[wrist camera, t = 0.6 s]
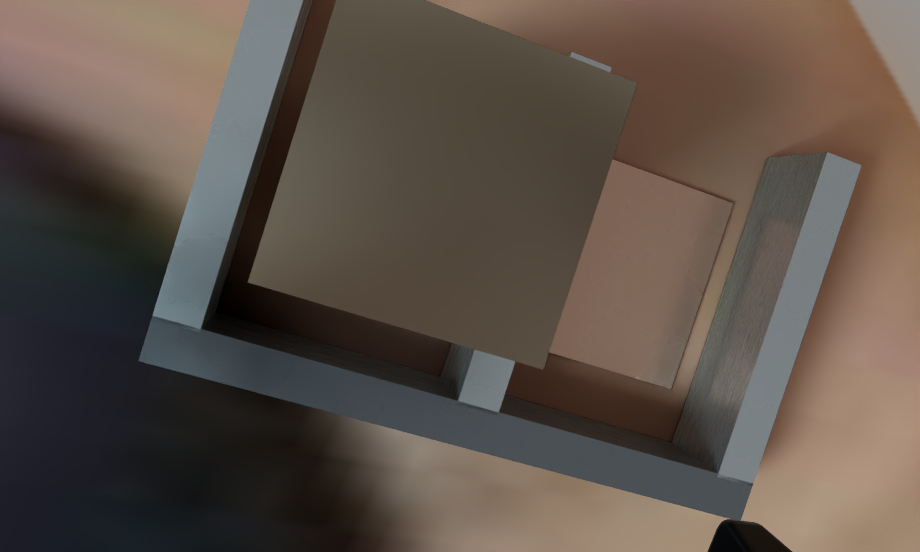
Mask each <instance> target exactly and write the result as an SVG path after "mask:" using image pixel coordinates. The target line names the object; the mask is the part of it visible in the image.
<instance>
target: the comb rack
mask: <svg viewBox="0 0 920 552" xmlns="http://www.w3.org/2000/svg"><path fill="white" fill-rule="evenodd" d="M312 2H313V0H250V2H249V5H248V9H247V12H246V15H245V18H244V21H243V25H242V28H241V31H240V34H239V38H238V41H237V44H236V47H235V51H234V54H233V57H232V60H231V64H230V67H229V70H228V73H227V76H226V80H225V83H224V86H223V89H222V93H221V96H220V99H219V102H218V106H217V109H216V112H215V115H214V119H213V122H212V125H211V128H210V131H209V135H208V138H207V141H206V144H205V148H204V151H203V154H202V157H201V161H200V164H199V167H198V170H197V174H196V177H195V180H194V183H193V186H192V190H191V193H190V196H189V199H188V203H187V206H186V209H185V212H184V216H183V219H182V222H181V225H180V228H179V232H178V235H177V238H176V241H175V245H174V248H173V251H172V254H171V258H170V261H169V264H168V267H167V271H166V274H165V277H164V280H163V283H162V287H161V290H160V293H159V296H158V300H157V303H156V306H155V309H154V313H153V316H152V319H151V322H150V326H149V329H148V332H147V335H146V338H145V342H144V345H143V348H142V351H141V355H140V358H139V361H141V362H144V363H148V364H152V365H156V366H160V367H163V368H167V369H171V370H175V371H178V372H182V373H186V374H190V375H193V376H197V377H201V378H205V379H208V380H212V381H216V382H220V383H223V384H227V385H231V386H235V387H238V388H242V389H246V390H250V391H253V392H257V393H261V394H265V395H268V396H272V397H276V398H280V399H283V400H287V401H291V402H295V403H298V404H302V405H306V406H310V407H313V408H317V409H321V410H325V411H328V412H332V413H336V414H340V415H343V416H347V417H351V418H355V419H358V420H362V421H366V422H370V423H373V424H377V425H381V426H385V427H388V428H392V429H396V430H400V431H403V432H407V433H411V434H415V435H418V436H422V437H426V438H430V439H433V440H437V441H441V442H445V443H448V444H452V445H456V446H460V447H463V448H467V449H471V450H475V451H478V452H482V453H486V454H490V455H493V456H497V457H501V458H505V459H508V460H512V461H516V462H520V463H523V464H527V465H531V466H535V467H538V468H542V469H546V470H550V471H553V472H557V473H561V474H565V475H568V476H572V477H576V478H580V479H583V480H587V481H591V482H595V483H598V484H602V485H606V486H610V487H613V488H617V489H621V490H625V491H628V492H632V493H636V494H640V495H643V496H647V497H651V498H655V499H658V500H662V501H666V502H670V503H673V504H677V505H681V506H685V507H688V508H692V509H696V510H700V511H703V512H707V513H711V514H715V515H718V516H722V517H726V518H730V519H733V520H740V521H741V518H742V515H743V512H744V509H745V506H746V503H747V500H748V497H749V494H750V491H751V488H752V485H753V482H754V480H755V477H756V474H757V471H758V468H759V465H760V462H761V459H762V456H763V453H764V450H765V447H766V444H767V441H768V439H769V436H770V433H771V430H772V427H773V424H774V421H775V418H776V415H777V412H778V409H779V406H780V403H781V400H782V398H783V395H784V392H785V389H786V386H787V383H788V380H789V377H790V374H791V371H792V368H793V365H794V362H795V359H796V357H797V354H798V351H799V348H800V345H801V342H802V339H803V336H804V333H805V330H806V327H807V324H808V321H809V318H810V316H811V313H812V310H813V307H814V304H815V301H816V298H817V295H818V292H819V289H820V286H821V283H822V280H823V277H824V274H825V272H826V269H827V266H828V263H829V260H830V257H831V254H832V251H833V248H834V245H835V242H836V239H837V236H838V233H839V231H840V228H841V225H842V222H843V219H844V216H845V213H846V210H847V207H848V204H849V201H850V198H851V195H852V192H853V190H854V187H855V184H856V181H857V178H858V175H859V172H860V169H861V166H862V165H859V164H857V163H854V162H852V161H849V160H847V159H844V158H842V157H839V156H836V155H834V154H831V153H829V152H822V153H812V154H801V155H790V156H780V157H769V158H768V159H767V162H766V165H765V168H764V171H763V174H762V177H761V180H760V183H759V185H758V188H757V191H756V194H755V197H754V200H753V203H752V206H751V209H750V212H749V215H748V218H747V221H746V224H745V227H744V230H743V233H742V236H741V239H740V242H739V245H738V248H737V251H736V254H735V257H734V260H733V263H732V266H731V269H730V272H729V275H728V278H727V281H726V284H725V286H724V289H723V292H722V295H721V298H720V301H719V304H718V307H717V310H716V313H715V316H714V319H713V322H712V325H711V328H710V331H709V334H708V337H707V340H706V343H705V346H704V349H703V352H702V355H701V358H700V361H699V364H698V367H697V370H696V373H695V376H694V379H693V382H692V384H691V387H690V390H689V393H688V396H687V399H686V402H685V405H684V408H683V411H682V414H681V417H680V420H679V423H678V426H677V429H676V432H675V435H674V438H673V441H672V442H669V441H666V440H662V439H659V438H655V437H652V436H648V435H645V434H641V433H638V432H634V431H631V430H627V429H624V428H620V427H616V426H613V425H609V424H606V423H602V422H599V421H595V420H592V419H588V418H585V417H581V416H578V415H574V414H571V413H567V412H564V411H560V410H557V409H553V408H550V407H546V406H543V405H539V404H536V403H532V402H529V401H525V400H522V399H518V398H515V397H511V396H508V395H505V392H506V389H507V386H508V383H509V380H510V376H511V373H512V370H513V367H514V364H515V361H512V360H508V359H505V358H502V357H498V356H495V355H492V354H488V353H485V352H481V351H478V350H475V349H471V348H468V347H465V346H461V345H458V344H454V343H451V346H450V349H449V352H448V355H447V358H446V361H445V364H444V367H443V370H442V373H441V376H438V375H434V374H431V373H427V372H424V371H420V370H417V369H413V368H410V367H406V366H403V365H399V364H396V363H392V362H389V361H385V360H382V359H378V358H375V357H371V356H367V355H364V354H360V353H357V352H353V351H350V350H346V349H343V348H339V347H336V346H332V345H329V344H325V343H322V342H318V341H315V340H311V339H308V338H304V337H301V336H297V335H294V334H290V333H287V332H283V331H280V330H276V329H273V328H269V327H266V326H262V325H259V324H255V323H252V322H248V321H245V320H241V319H238V318H234V317H231V316H227V315H224V314H220V313H217V312H216V309H217V306H218V303H219V300H220V296H221V293H222V290H223V287H224V284H225V280H226V277H227V274H228V271H229V268H230V264H231V261H232V258H233V255H234V252H235V248H236V245H237V242H238V239H239V235H240V232H241V229H242V226H243V223H244V219H245V216H246V213H247V210H248V207H249V203H250V200H251V197H252V194H253V191H254V187H255V184H256V181H257V178H258V175H259V171H260V168H261V165H262V162H263V159H264V155H265V152H266V149H267V146H268V143H269V139H270V136H271V133H272V130H273V127H274V123H275V120H276V117H277V114H278V111H279V107H280V104H281V101H282V98H283V95H284V91H285V88H286V85H287V82H288V79H289V75H290V72H291V69H292V66H293V63H294V59H295V56H296V53H297V50H298V47H299V43H300V40H301V37H302V34H303V30H304V27H305V24H306V21H307V18H308V14H309V11H310V8H311V5H312ZM567 56H569V57H572V58H575V59H577V60H580V61H582V62H585V63H587V64H590V65H593V66H595V67H598V68H600V69H603V70H605V71H608V72H610V71H611V68H612V67H609V66H607V65H604V64H602V63H599V62H597V61H594V60H591V59H589V58H586V57H584V56H581V55H579V54H576V53H574V52H571V53H569V54H567ZM732 206H733V203H731V202H729V201H726V200H723V199H720V198H718V197H715V196H712V195H709V194H707V193H704V192H701V191H698V190H696V189H693V188H690V187H687V186H685V185H682V184H679V183H676V182H674V181H671V180H668V179H665V178H663V177H660V176H657V175H655V174H652V173H649V172H646V171H644V170H641V169H638V168H635V167H633V166H630V165H627V164H624V163H622V162H619V161H616V160H612V163H611V166H610V169H609V172H608V175H607V178H606V181H605V184H604V187H603V190H602V193H601V196H600V199H599V202H598V205H597V208H596V211H595V214H594V217H593V220H592V224H591V227H590V230H589V233H588V236H587V239H586V242H585V245H584V248H583V251H582V254H581V257H580V260H579V263H578V266H577V269H576V272H575V275H574V278H573V281H572V284H571V287H570V290H569V293H568V296H567V300H566V303H565V306H564V309H563V312H562V315H561V318H560V321H559V324H558V327H557V330H556V333H555V336H554V339H553V342H552V345H551V348H550V351H549V353H553V354H556V355H559V356H563V357H566V358H569V359H573V360H576V361H579V362H583V363H586V364H589V365H593V366H596V367H599V368H603V369H606V370H609V371H613V372H616V373H619V374H623V375H626V376H629V377H632V378H636V379H639V380H642V381H646V382H649V383H652V384H656V385H659V386H662V387H666V388H669V389H671V388H672V385H673V382H674V379H675V376H676V373H677V370H678V367H679V364H680V361H681V358H682V355H683V352H684V349H685V346H686V343H687V340H688V337H689V335H690V332H691V329H692V326H693V323H694V320H695V317H696V314H697V311H698V308H699V305H700V302H701V299H702V296H703V293H704V290H705V287H706V284H707V281H708V278H709V275H710V272H711V269H712V266H713V263H714V260H715V257H716V254H717V251H718V248H719V245H720V242H721V239H722V236H723V233H724V230H725V227H726V224H727V221H728V218H729V215H730V212H731V209H732Z"/></svg>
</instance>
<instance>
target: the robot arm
mask: <svg viewBox="0 0 920 552" xmlns="http://www.w3.org/2000/svg"><path fill="white" fill-rule="evenodd" d="M708 552H792V551H791V550H790V549H788V548H787V547H786V546H785V545H784V544H783V543H782V542H780V541H779V540H778V539H777V538H776V537H775V536H773V535H772V534H771V533H770V532H769V531H768V530H766V529H765V528H764V527H763V526H761V525H760V524H758V523H754V522H747V521H740V520H732V519H727V520H724V521H723V522H721V523H720V525H719V526H718V528H717V530H716V532H715V535H714V537H713V540H712V542H711V545H710V547H709V549H708Z"/></svg>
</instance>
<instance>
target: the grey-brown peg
mask: <svg viewBox="0 0 920 552" xmlns="http://www.w3.org/2000/svg"><path fill="white" fill-rule="evenodd" d="M637 84H638V83H636V82H634V81H631V80H628V79H626V78H623V77H621V76H618V75H616V74H613V73H610V72H608V71H605V70H603V69H600V68H598V67H595V66H593V65H590V64H587V63H585V62H582V61H580V60H577V59H575V58H572V57H569V56H567V55H564V54H562V53H559V52H557V51H554V50H552V49H549V48H546V47H544V46H541V45H539V44H536V43H534V42H531V41H528V40H526V39H523V38H521V37H518V36H516V35H513V34H511V33H508V32H505V31H503V30H500V29H498V28H495V27H493V26H490V25H487V24H485V23H482V22H480V21H477V20H475V19H472V18H470V17H467V16H464V15H462V14H459V13H457V12H454V11H452V10H449V9H446V8H444V7H441V6H439V5H436V4H434V3H431V2H429V1H426V0H336V2H335V5H334V8H333V11H332V15H331V18H330V21H329V24H328V27H327V31H326V34H325V37H324V40H323V43H322V47H321V50H320V53H319V56H318V59H317V63H316V66H315V69H314V72H313V75H312V79H311V82H310V85H309V88H308V91H307V94H306V98H305V101H304V104H303V107H302V110H301V114H300V117H299V120H298V123H297V126H296V130H295V133H294V136H293V139H292V142H291V146H290V149H289V152H288V155H287V158H286V162H285V165H284V168H283V171H282V174H281V177H280V181H279V184H278V187H277V190H276V193H275V197H274V200H273V203H272V206H271V209H270V213H269V216H268V219H267V222H266V225H265V229H264V232H263V235H262V238H261V241H260V245H259V248H258V251H257V254H256V257H255V260H254V264H253V267H252V270H251V273H250V276H249V280H248V283H251V284H255V285H258V286H262V287H265V288H268V289H272V290H275V291H278V292H282V293H285V294H289V295H292V296H295V297H299V298H302V299H305V300H309V301H312V302H316V303H319V304H322V305H326V306H329V307H333V308H336V309H339V310H343V311H346V312H349V313H353V314H356V315H360V316H363V317H366V318H370V319H373V320H377V321H380V322H383V323H387V324H390V325H393V326H397V327H400V328H404V329H407V330H410V331H414V332H417V333H421V334H424V335H427V336H431V337H434V338H437V339H441V340H444V341H448V342H451V343H454V344H458V345H461V346H465V347H468V348H471V349H475V350H478V351H481V352H485V353H488V354H492V355H495V356H498V357H502V358H505V359H508V360H512V361H515V362H519V363H522V364H525V365H529V366H532V367H536V368H539V369H542V370H543V369H544V366H545V363H546V360H547V357H548V354H549V351H550V348H551V345H552V342H553V339H554V336H555V333H556V330H557V327H558V324H559V321H560V318H561V315H562V312H563V309H564V306H565V303H566V300H567V296H568V293H569V290H570V287H571V284H572V281H573V278H574V275H575V272H576V269H577V266H578V263H579V260H580V257H581V254H582V251H583V248H584V245H585V242H586V239H587V236H588V233H589V230H590V227H591V224H592V220H593V217H594V214H595V211H596V208H597V205H598V202H599V199H600V196H601V193H602V190H603V187H604V184H605V181H606V178H607V175H608V172H609V169H610V166H611V163H612V160H613V157H614V154H615V151H616V148H617V145H618V141H619V138H620V135H621V132H622V129H623V126H624V123H625V120H626V117H627V114H628V111H629V108H630V105H631V102H632V99H633V96H634V93H635V90H636V87H637Z"/></svg>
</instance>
